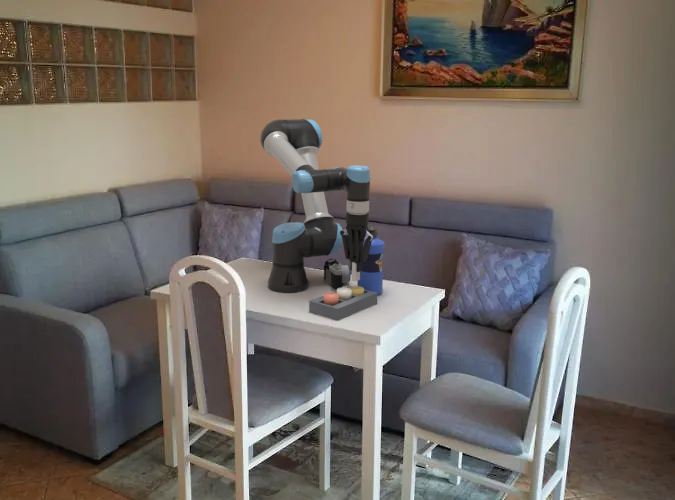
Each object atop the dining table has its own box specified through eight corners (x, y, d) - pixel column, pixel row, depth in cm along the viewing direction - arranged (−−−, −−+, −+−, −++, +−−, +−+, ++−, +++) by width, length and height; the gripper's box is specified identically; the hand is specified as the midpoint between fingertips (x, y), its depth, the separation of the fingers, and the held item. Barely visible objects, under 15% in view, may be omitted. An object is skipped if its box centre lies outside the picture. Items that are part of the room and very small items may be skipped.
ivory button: (333, 298, 225) (333, 289, 225) (342, 295, 229) (343, 286, 228) (345, 302, 222) (345, 292, 222) (354, 298, 226) (354, 289, 225)
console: (309, 312, 222) (309, 300, 221) (349, 296, 239) (349, 285, 238) (337, 320, 215) (337, 308, 214) (377, 303, 231) (377, 292, 230)
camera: (354, 290, 246) (355, 264, 243) (331, 291, 244) (331, 265, 241) (343, 278, 260) (343, 253, 258) (320, 279, 258) (321, 254, 256)
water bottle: (353, 295, 240) (355, 227, 234) (360, 287, 249) (362, 221, 242) (379, 298, 237) (381, 229, 231) (385, 290, 246) (387, 224, 240)
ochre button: (346, 297, 231) (346, 288, 230) (355, 293, 235) (355, 285, 234) (357, 300, 228) (358, 291, 227) (366, 296, 232) (366, 288, 231)
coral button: (320, 304, 220) (320, 294, 219) (329, 300, 224) (330, 291, 223) (332, 307, 217) (332, 298, 216) (341, 303, 221) (341, 294, 220)
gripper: (335, 211, 224) (333, 279, 230) (367, 217, 217) (364, 286, 223) (348, 208, 230) (347, 274, 236) (380, 213, 222) (377, 281, 228)
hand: (355, 280), depth 229 cm, fingers closed
